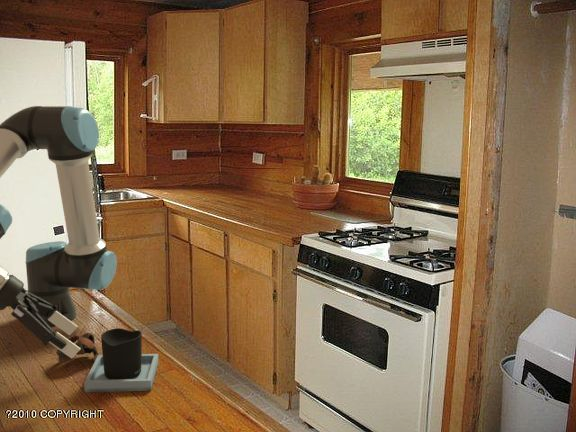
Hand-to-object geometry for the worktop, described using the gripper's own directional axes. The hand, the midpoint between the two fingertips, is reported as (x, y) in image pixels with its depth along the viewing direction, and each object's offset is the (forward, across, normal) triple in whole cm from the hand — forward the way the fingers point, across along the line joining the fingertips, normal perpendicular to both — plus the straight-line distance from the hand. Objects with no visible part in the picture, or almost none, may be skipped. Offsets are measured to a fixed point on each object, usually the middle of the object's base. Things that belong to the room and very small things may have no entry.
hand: (74, 341), depth 140 cm
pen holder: (+15, 0, 0) cm, 15 cm away
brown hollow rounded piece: (+9, -13, -7) cm, 17 cm away
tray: (+15, 0, 0) cm, 15 cm away
